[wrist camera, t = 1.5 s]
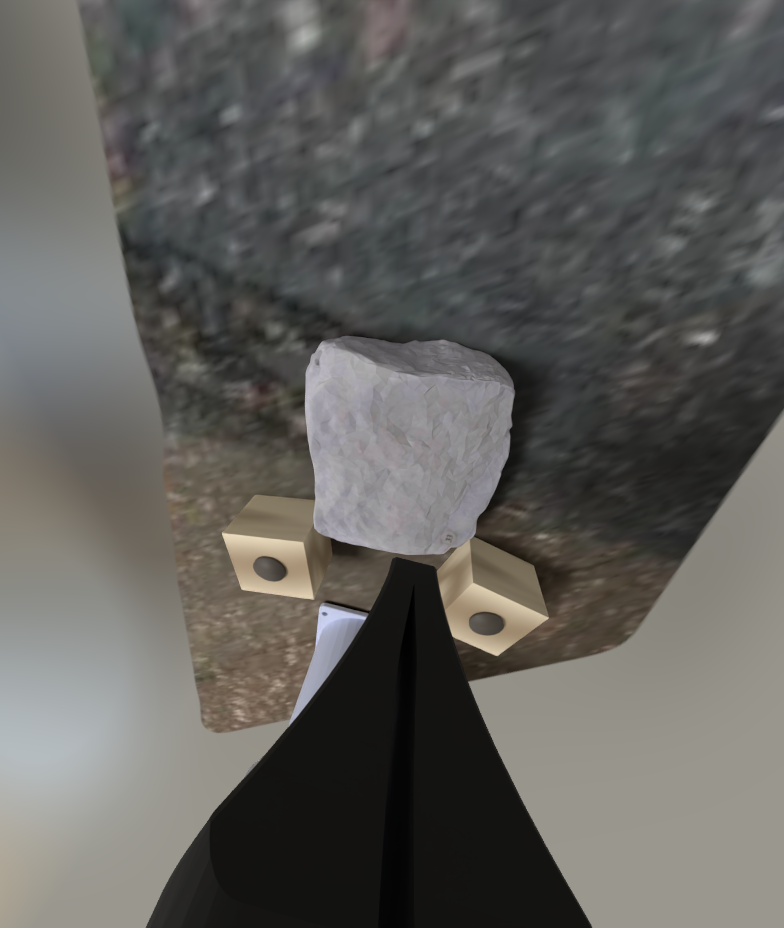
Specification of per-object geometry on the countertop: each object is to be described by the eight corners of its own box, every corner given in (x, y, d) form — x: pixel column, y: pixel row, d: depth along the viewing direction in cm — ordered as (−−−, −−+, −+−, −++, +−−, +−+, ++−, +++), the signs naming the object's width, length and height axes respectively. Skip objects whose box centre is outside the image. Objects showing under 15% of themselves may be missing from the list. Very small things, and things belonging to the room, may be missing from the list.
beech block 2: (490, 602, 24) (497, 659, 21) (431, 575, 24) (428, 629, 20) (533, 563, 22) (550, 621, 18) (469, 532, 21) (473, 585, 18)
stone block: (507, 337, 17) (310, 325, 16) (550, 364, 13) (290, 350, 12) (464, 510, 23) (323, 508, 22) (483, 565, 19) (312, 564, 18)
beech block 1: (333, 553, 24) (312, 602, 21) (270, 546, 25) (240, 592, 21) (326, 499, 22) (302, 544, 18) (256, 493, 22) (219, 535, 19)
